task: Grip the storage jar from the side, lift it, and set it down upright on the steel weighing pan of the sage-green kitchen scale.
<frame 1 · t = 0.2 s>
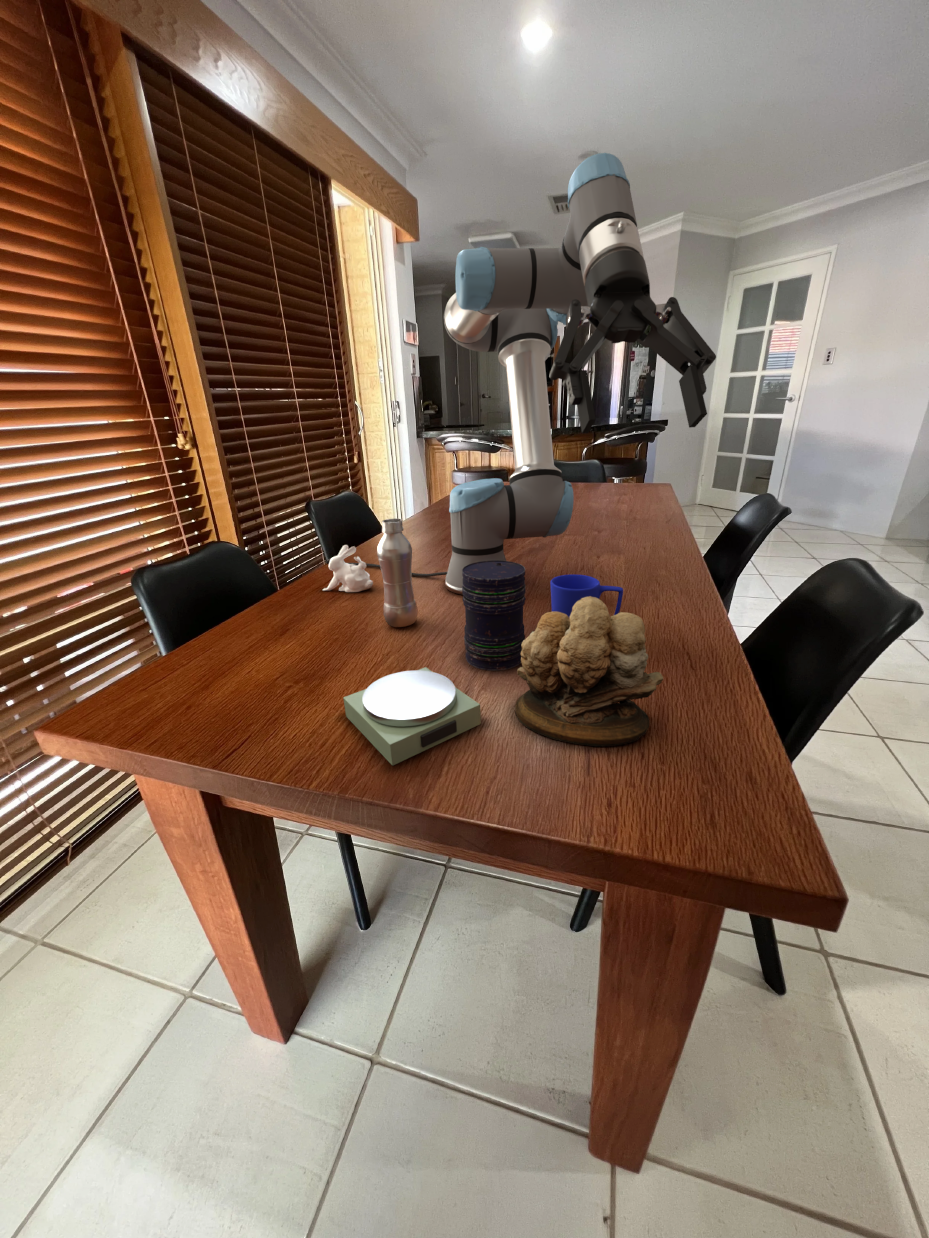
hand: (644, 424, 59), 35 cm above the table, tool tilted 35°, fingers open, 13 cm apart
rabbit figurine: (352, 588, 117), on the table
scale: (412, 720, 66), on the table
mug: (583, 636, 88), on the table
weighing pan: (409, 696, 64), point 4 cm above the table, slide at 0.0 cm
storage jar: (494, 657, 82), on the table
metal bottle: (401, 625, 95), on the table
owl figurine: (582, 719, 65), on the table
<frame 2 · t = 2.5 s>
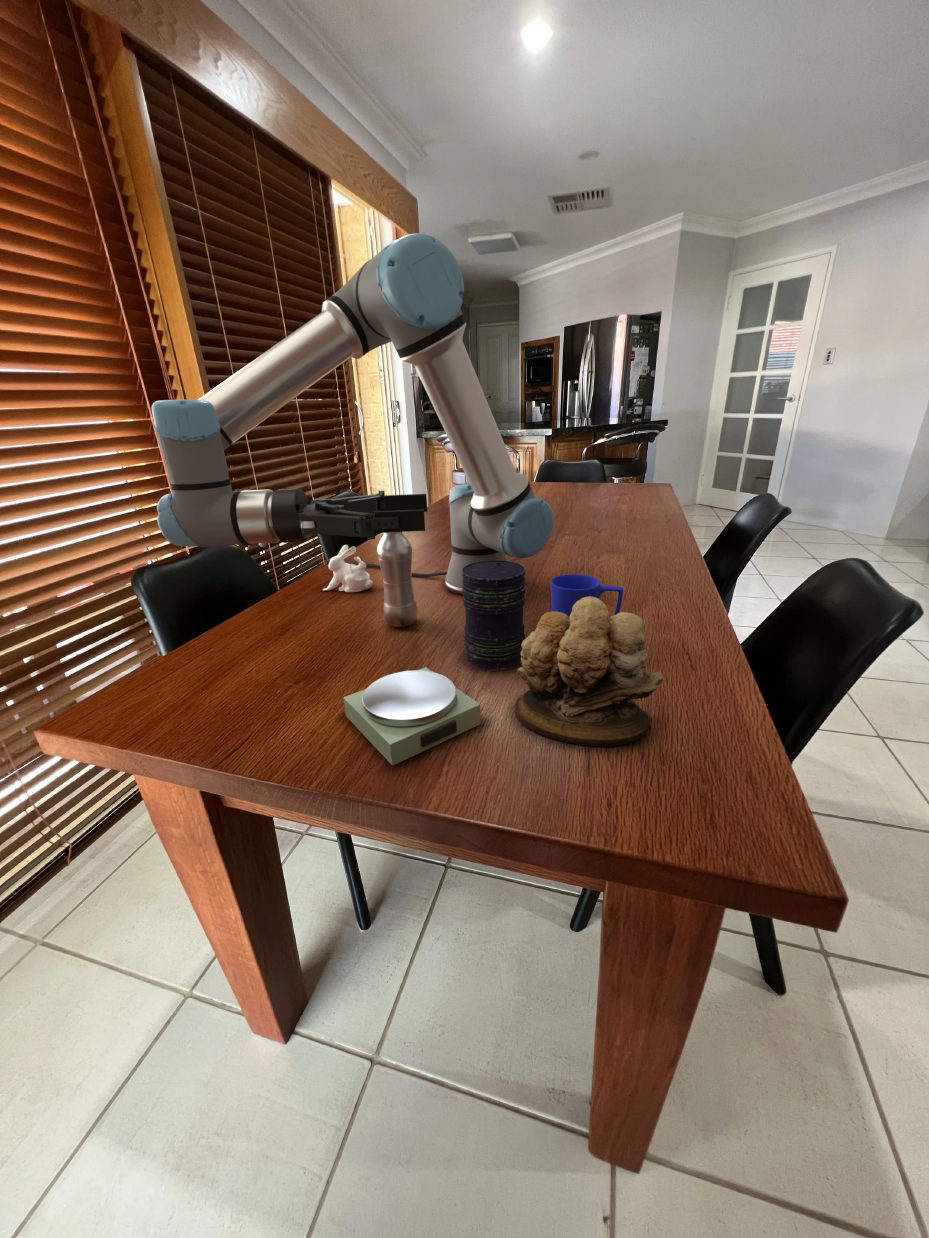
hand: (426, 510, 72), 24 cm above the table, tool horizontal, fingers open, 13 cm apart
nothing on the table moved.
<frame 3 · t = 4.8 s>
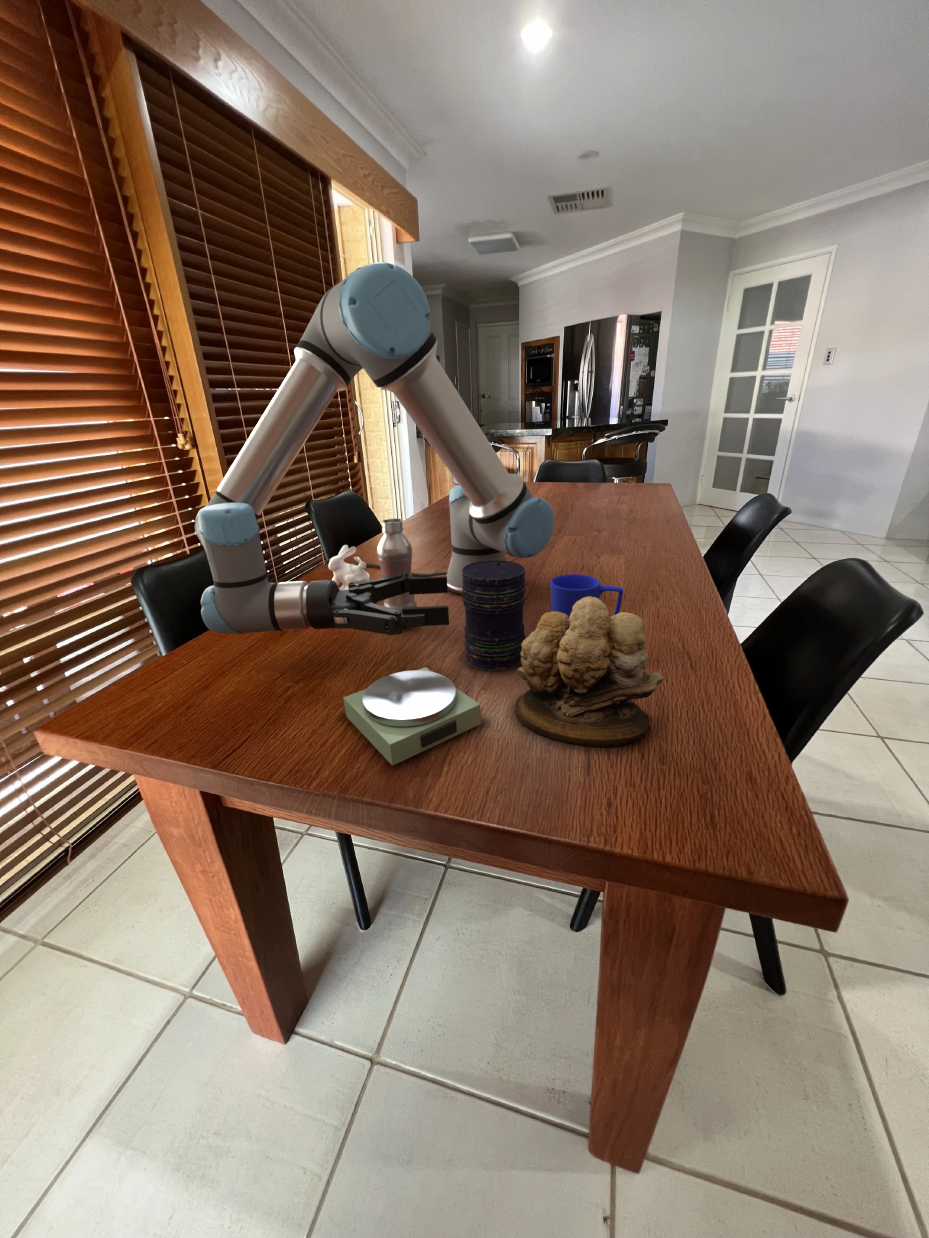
hand: (448, 598, 77), 11 cm above the table, tool horizontal, fingers open, 13 cm apart
nothing on the table moved.
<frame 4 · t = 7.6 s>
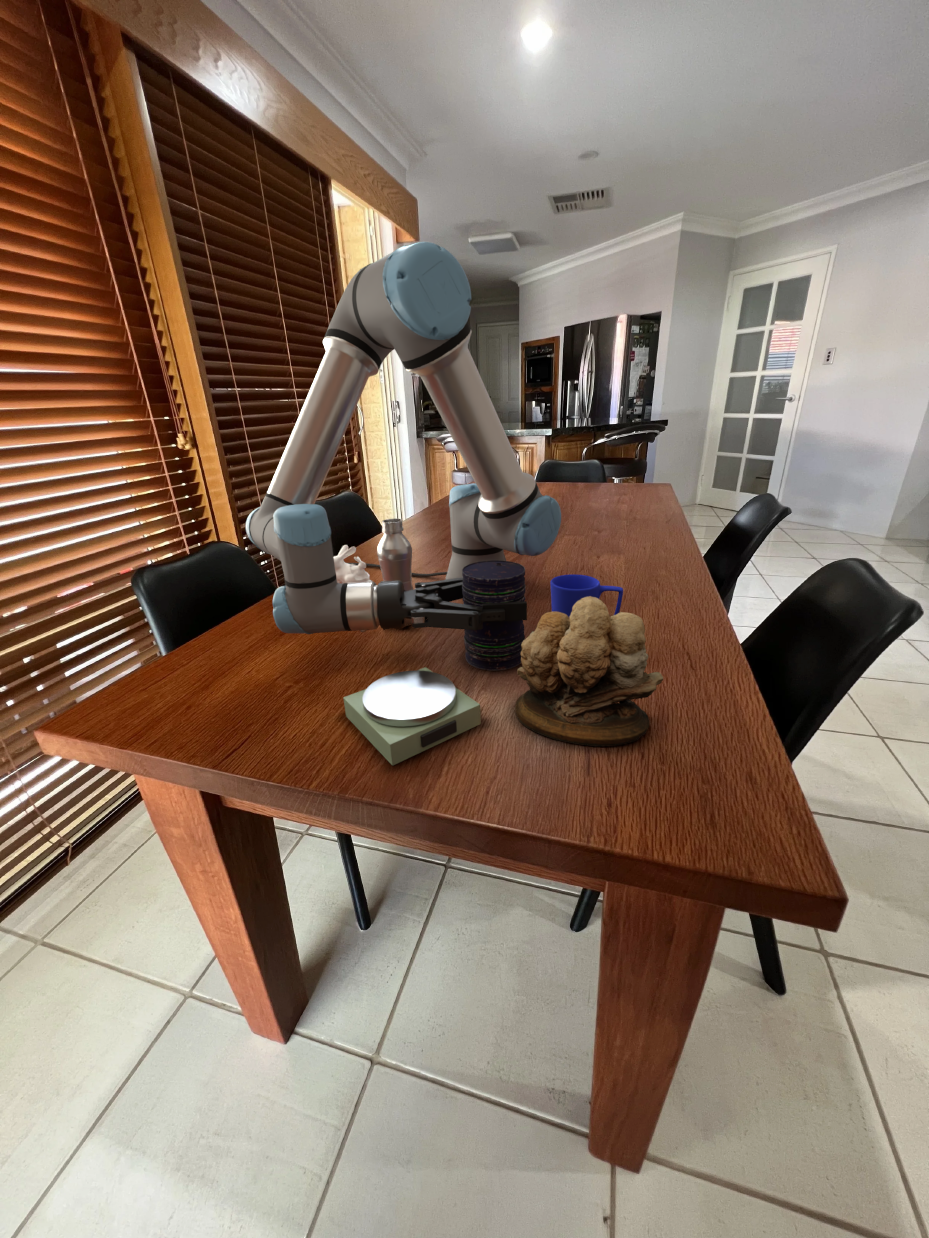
hand: (521, 598, 78), 10 cm above the table, tool horizontal, fingers closed on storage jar, 10 cm apart
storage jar: (494, 657, 82), on the table, touching gripper
everything else where it was.
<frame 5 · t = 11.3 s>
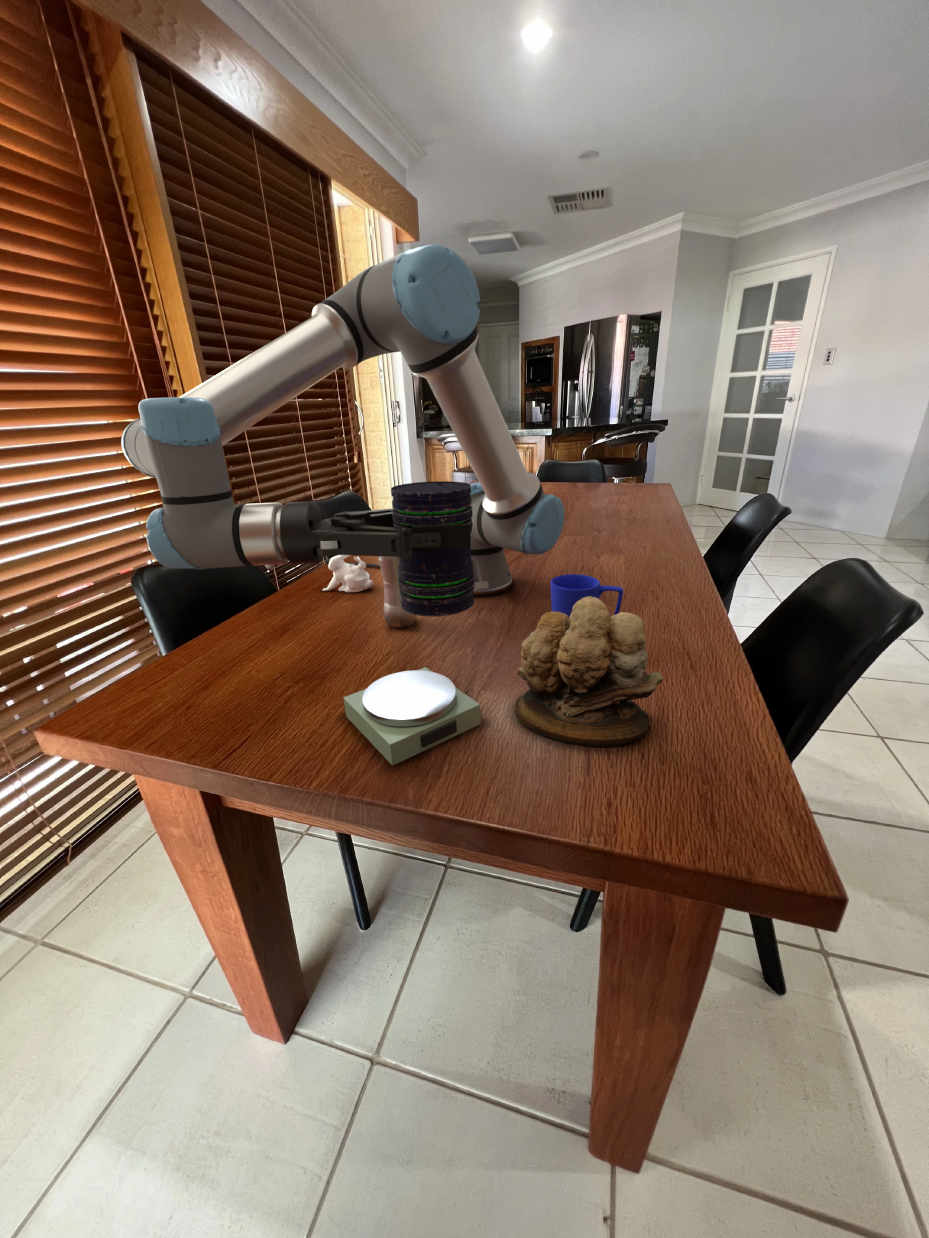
hand: (467, 526, 62), 24 cm above the table, tool horizontal, fingers closed on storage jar, 10 cm apart
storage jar: (437, 604, 65), point 14 cm above the table, touching gripper
everything else where it was.
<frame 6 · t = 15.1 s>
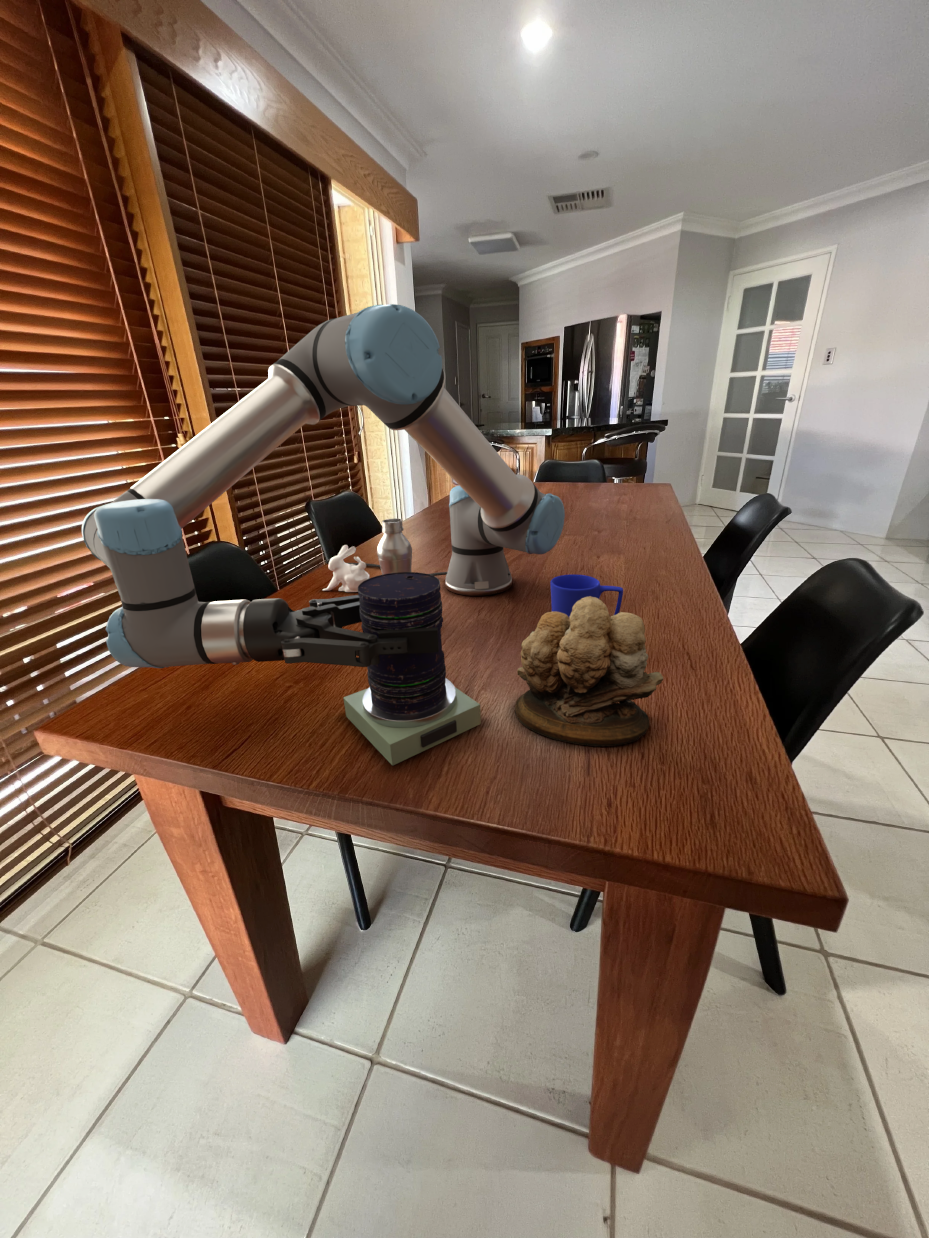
hand: (438, 621, 60), 14 cm above the table, tool horizontal, fingers closed on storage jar, 10 cm apart
weighing pan: (409, 697, 64), point 4 cm above the table, slide at -0.2 cm, touching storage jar
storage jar: (409, 695, 64), point 4 cm above the table, touching gripper, weighing pan
everything else where it was.
when the fingers open (14 cm above the table, at t = 15.4 s): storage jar moves 1 cm, resting on weighing pan.
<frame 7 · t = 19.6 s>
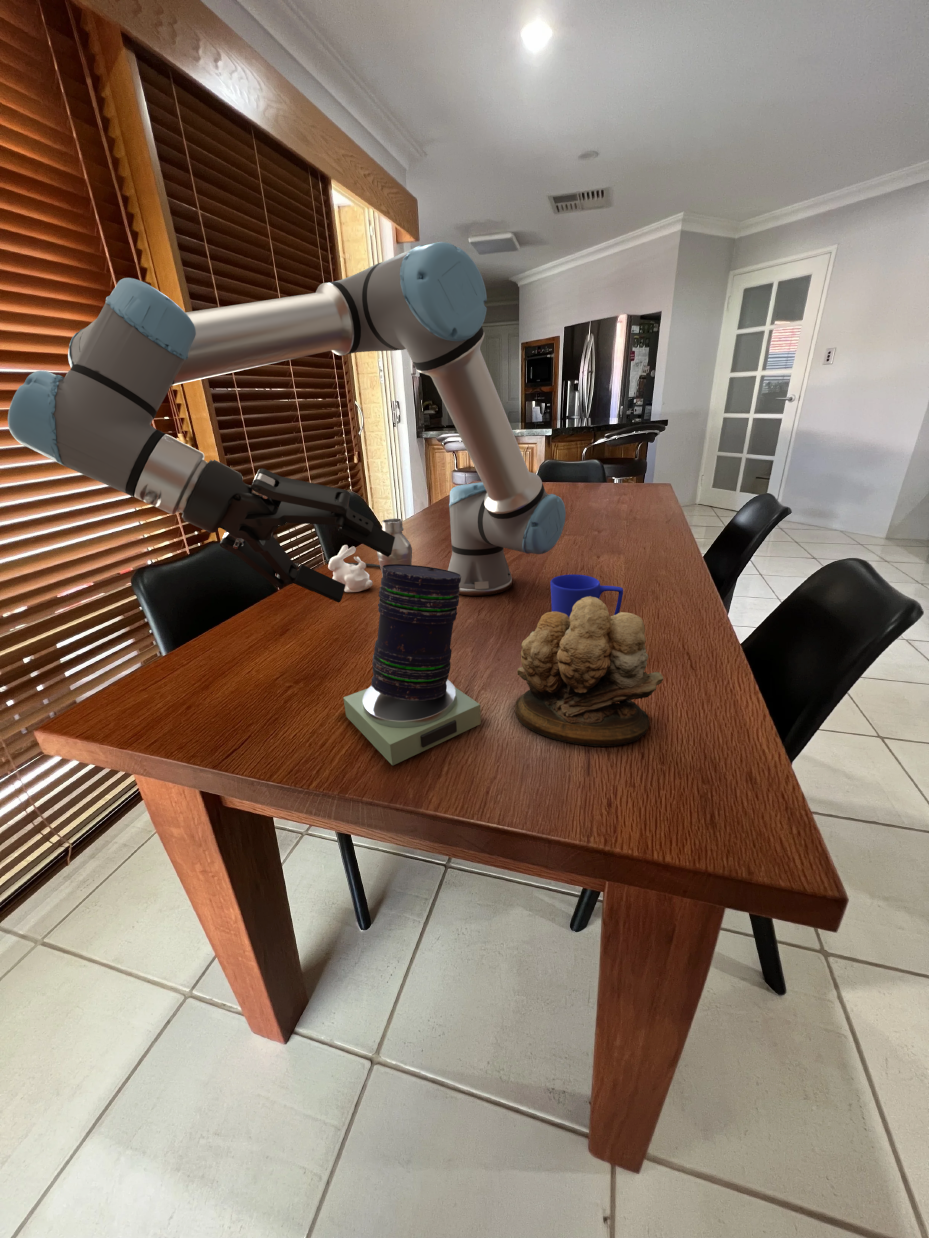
hand: (365, 572, 64), 19 cm above the table, tool tilted 55°, fingers open, 13 cm apart
weighing pan: (409, 697, 64), point 3 cm above the table, slide at -0.2 cm, touching scale, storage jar
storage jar: (409, 687, 64), point 5 cm above the table, touching weighing pan
everything else where it was.
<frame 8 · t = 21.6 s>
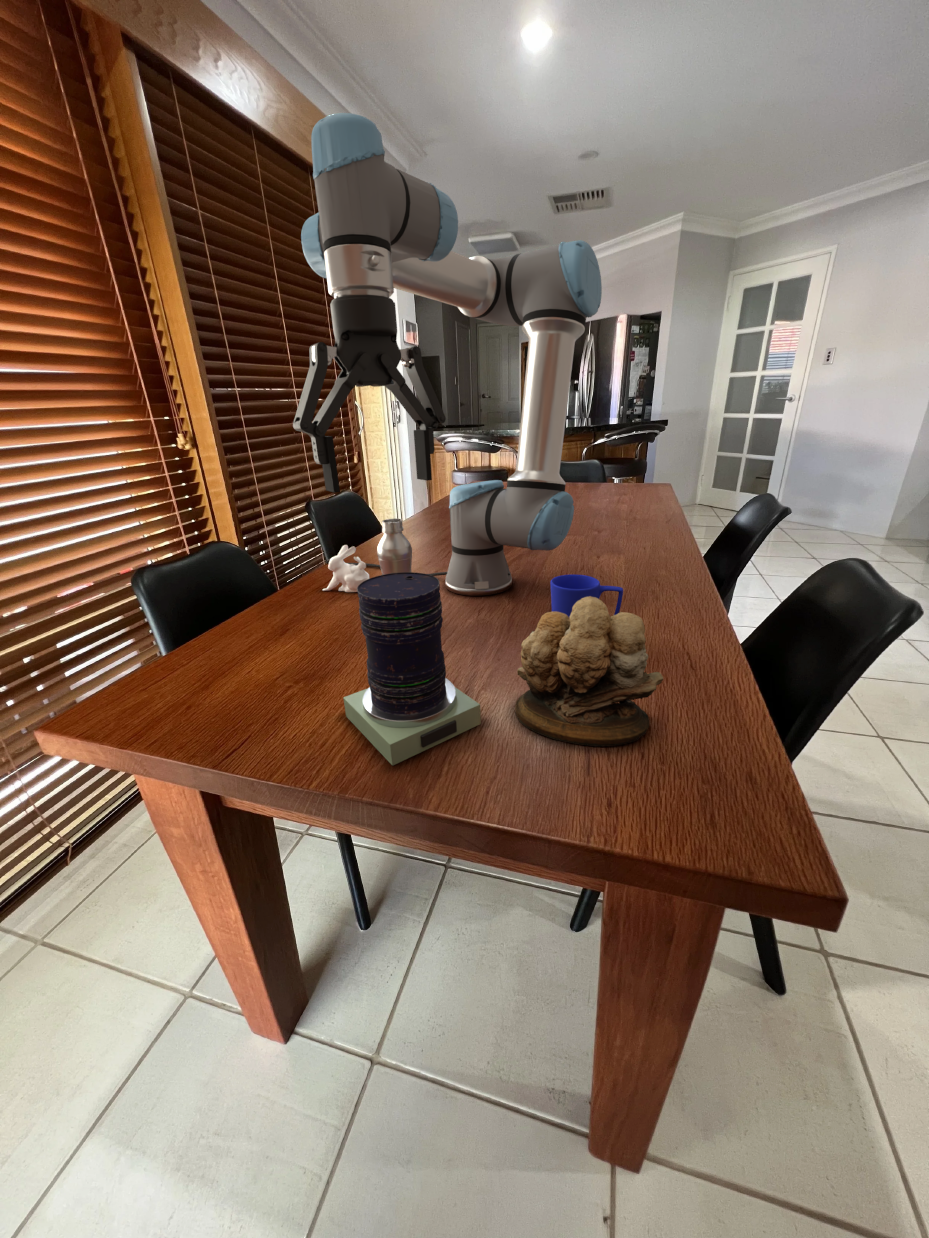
hand: (381, 485, 66), 29 cm above the table, tool pointing down, fingers open, 13 cm apart
weighing pan: (409, 697, 64), point 4 cm above the table, slide at -0.2 cm, touching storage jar
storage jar: (409, 695, 64), point 4 cm above the table, touching weighing pan
everything else where it was.
at the end: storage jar 0.1 cm off-centre on the scale, point 3.8 cm above the scale's base; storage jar tilted 0°; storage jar touching weighing pan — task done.
